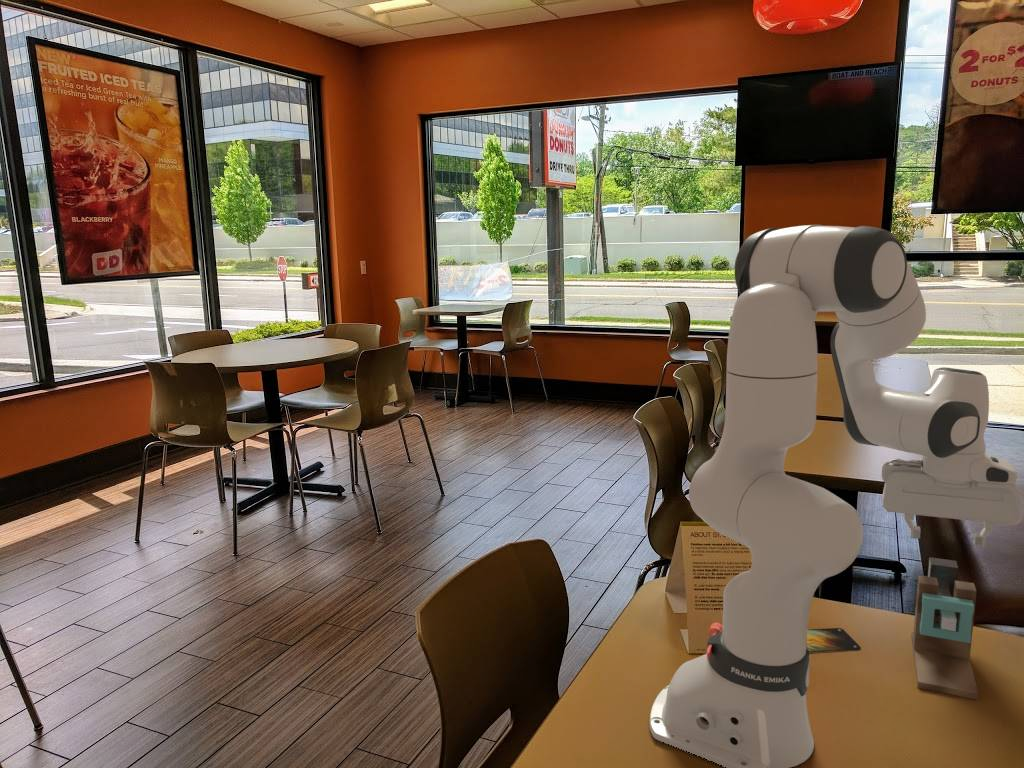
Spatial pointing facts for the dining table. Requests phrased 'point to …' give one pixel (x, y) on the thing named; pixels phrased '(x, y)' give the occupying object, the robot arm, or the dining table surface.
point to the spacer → (948, 604)
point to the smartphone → (830, 640)
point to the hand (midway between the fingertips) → (946, 541)
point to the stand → (943, 648)
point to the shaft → (944, 587)
